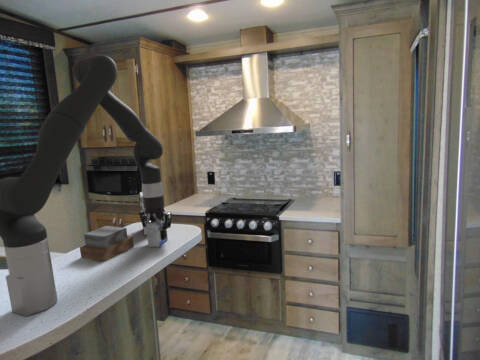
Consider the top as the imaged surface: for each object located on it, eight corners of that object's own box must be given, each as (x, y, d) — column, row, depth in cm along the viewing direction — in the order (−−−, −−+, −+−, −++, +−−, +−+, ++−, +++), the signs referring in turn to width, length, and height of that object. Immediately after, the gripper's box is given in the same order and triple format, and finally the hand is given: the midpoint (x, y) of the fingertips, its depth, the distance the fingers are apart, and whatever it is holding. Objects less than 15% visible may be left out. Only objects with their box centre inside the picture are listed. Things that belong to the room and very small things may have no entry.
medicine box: (159, 247, 125) (156, 224, 123) (148, 247, 125) (145, 224, 124) (168, 239, 132) (165, 218, 131) (157, 239, 133) (155, 218, 132)
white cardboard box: (156, 234, 140) (152, 195, 138) (143, 236, 139) (139, 196, 136) (154, 227, 151) (150, 190, 148) (143, 228, 149) (138, 191, 147)
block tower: (103, 261, 114) (100, 238, 113) (81, 257, 119) (78, 235, 118) (133, 247, 126) (131, 226, 125) (112, 244, 131) (109, 224, 130)
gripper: (131, 196, 126) (136, 240, 128) (161, 197, 119) (166, 244, 122) (145, 191, 132) (149, 233, 135) (175, 193, 126) (179, 237, 129)
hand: (157, 238), depth 128 cm, fingers closed on medicine box, 5 cm apart
